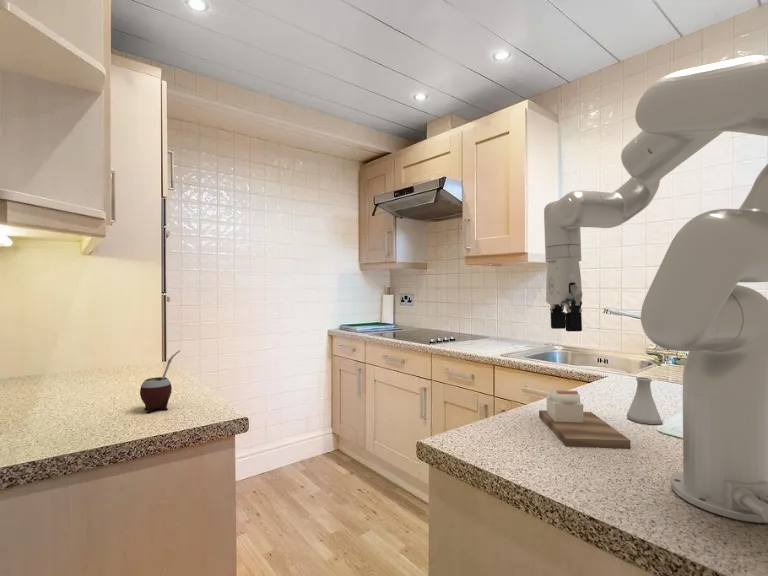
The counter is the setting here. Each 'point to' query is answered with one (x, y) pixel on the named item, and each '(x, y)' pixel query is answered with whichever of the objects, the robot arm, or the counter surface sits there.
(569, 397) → the knob
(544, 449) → the counter surface
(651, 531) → the counter surface
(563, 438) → the hub board
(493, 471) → the counter surface
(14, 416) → the counter surface
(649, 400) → the flask
